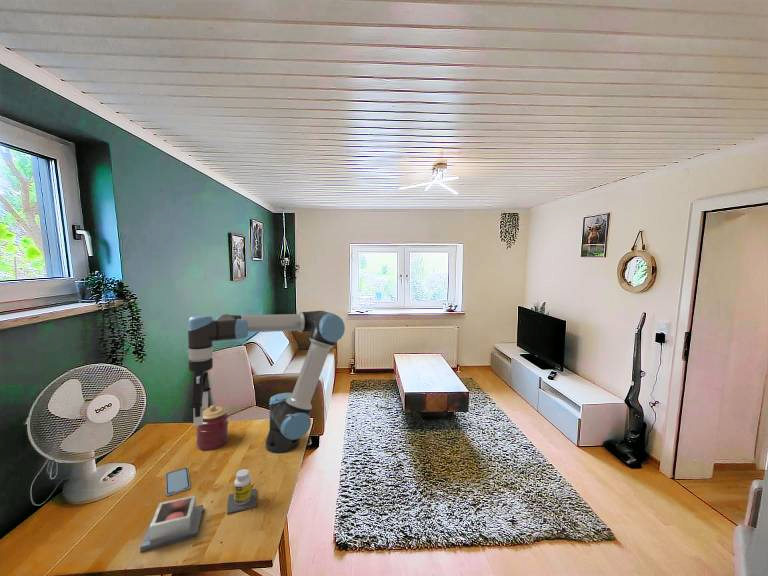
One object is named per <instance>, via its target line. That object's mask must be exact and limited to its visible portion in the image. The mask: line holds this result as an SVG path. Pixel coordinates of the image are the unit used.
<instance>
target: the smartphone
mask: <svg viewBox="0 0 768 576" xmlns="http://www.w3.org/2000/svg"><path fill="white" fill-rule="evenodd" d="M190 489H191V480H190V475H189V468H188V467H183V468H180V469H175V470H172V471H169V472H166V473H165V496H166V497H169V496H172V495H177V494H179V493H182V492H184V491H188V490H190Z"/></svg>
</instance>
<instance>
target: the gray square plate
mask: <svg viewBox="0 0 768 576" xmlns="http://www.w3.org/2000/svg"><path fill="white" fill-rule="evenodd" d="M254 507H255V508H257V488H251V499H250V500H249V501H248V502H247V503H245V504H242V505H237V504H235V502H234V493H229V494H228V500H227V510H226V515H230V514H234V513H239V512H243V511H246V510H250V509H254Z"/></svg>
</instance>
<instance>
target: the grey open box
mask: <svg viewBox="0 0 768 576" xmlns="http://www.w3.org/2000/svg"><path fill="white" fill-rule="evenodd" d="M175 512H182V513H184V517H180V518H175V519H171V520H167V521H165V519H166V518H167V517H168V516H169V515H171V514H173V513H175ZM203 512H204V504H200V505H197V497H196V494H194V495H189V496H186V497H181V498H176V499H172V500H166V501H162V502H159V503H158V505H157V508H156V511H155V513H154V515H153V516H152V517H151V520H150V523H149V525H148V527H147V529H146V532H145V534H144V537H143V539H142V542H141V544H140V547H139V552H140V553H142V552H145V551H150V550H154V549H157V548H161V547H165V546H169V545H173V544H176V543H180V542H183V541H188V540H192V539H195V538H198V535H199V531H200V526H201V521H202V517H203Z"/></svg>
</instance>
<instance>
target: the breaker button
mask: <svg viewBox="0 0 768 576" xmlns="http://www.w3.org/2000/svg"><path fill="white" fill-rule="evenodd" d="M180 517H184V513H182V512H175V513H173V514H171V515H169V516H168V517H167V518H166V519H165V521H167V520H171V519H175V518H180Z"/></svg>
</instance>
